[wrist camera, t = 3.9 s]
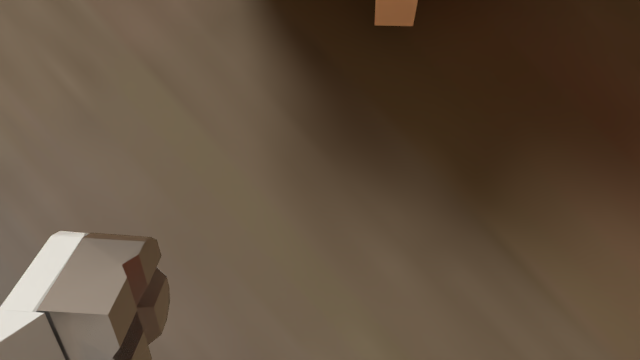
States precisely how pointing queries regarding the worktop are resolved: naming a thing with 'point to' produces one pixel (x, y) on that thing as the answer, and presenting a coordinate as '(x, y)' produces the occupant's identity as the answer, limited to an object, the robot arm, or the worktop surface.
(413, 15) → the side door
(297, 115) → the worktop surface
